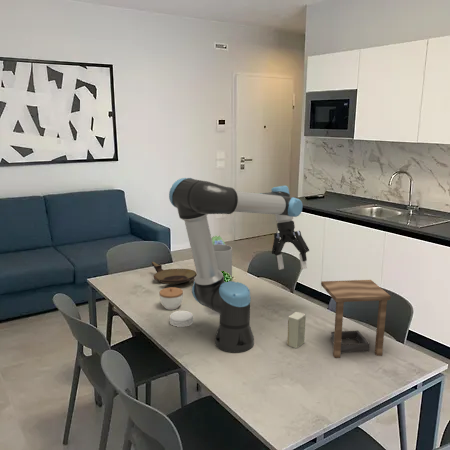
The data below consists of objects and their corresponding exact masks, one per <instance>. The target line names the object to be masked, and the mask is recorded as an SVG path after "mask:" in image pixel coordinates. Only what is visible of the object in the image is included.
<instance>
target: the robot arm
mask: <svg viewBox="0 0 450 450" xmlns="http://www.w3.org/2000/svg"><path fill="white" fill-rule="evenodd" d="M168 199H169V201H170V204H171V205H172V206H173V207H174V208H176V210H177V214H178V216H179V219H180V220H182V221H184V225H185V230H186V233H187V238H188V242H189V247H190V250H191V251H190V252H191V254H192V259H193V262H194V267H195V272H196V273H197V275H196V277H195V278H194V281H193V284H192V286H191V287H192V289H191V292H192V296H193V299H194V300H195V301H196V302H197V303H198V304H199V305H201V306H204V307H206V308H208V309H211V310H212V311H214V312H216V313H218V314H219V326H218V327H217V331H216V334H215V336H214V344H216V345H215V346H216V347H217V348H218V349H220V350H221V351H223V352H226V351H227V353H243V352H247V351H250V349H252V348H253V347H254V346H255V336H254V333H253V331H252V330H253V329H252V327H251V324H250V323H251V300H252V299H251V298H252V297H251V292H250V289H249V287H248V286H247V285H246V284H244V283H242V282H238V281H237V282H236V281H234V280H232V281H228V282H225V281H224V276H223V273H222V272H221V271H220V270H218V266H217V262H216V257H215V252H214V248H213V243H212V234H211V230H210V226H209V220H208V215H231V214H233V213H235V212H236V213H247V214H260V215H261V214H263V215H264V214H265V215H275V220H276V222H277V223H276V227H277V232H276V233H274V234H273V238H274V239H273V244H272V247H271V248H272V249H271V254H272V255H275V259H276V263H277V266H278V267H277V268H278V270H279V271H280V270H284V269H285V267H284V266H285V265H284V264H285V263H284V258H283V254H282V251H283V249H284V246H285V244H286V243H291V244H292V245H293V246H294V248H295V249H297V251H298V252H299V256H298V257H299V262H300V268H301V270H305V269H308V265H307V254H306V253H308V252H310V248H309V247H308V245H307V242H306V241H305V239H304V238H303V235H302V233H301V231H300V230H296V231H295V228H296V226H295V221H294V220H293V219H294V218H297V217H299V216H300V215H301V214H302V211H303V206H304V205H303V201H302V200H301V199H299V198H296V197H295V196H294V197H291V194H290V190H289V187H288V186H287V185H279V186H274V187H272V188H271V192H260V193H256V192H249V191H241V190H236V189H235V188H233V187H229V186H224V185H220V184H218V183H214V182H211V181H207V180H200V179H194V178H192V177H182V178H179V179H177V180H176V181H175V182H173V184H172V186H171V188H169V193H168Z"/></svg>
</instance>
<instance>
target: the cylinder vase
mask: <svg viewBox="0 0 450 450" xmlns="http://www.w3.org/2000/svg"><path fill="white" fill-rule="evenodd" d="M213 248H214V252H215V257H216V262H217V266H218V270H220V271H225V272H227V273H229V274H230V275H231V277H232V278H233V247H232V246H231V245H227V244H225V245H222V244H216V245H213Z"/></svg>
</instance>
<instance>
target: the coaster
mask: <svg viewBox="0 0 450 450" xmlns="http://www.w3.org/2000/svg"><path fill="white" fill-rule="evenodd" d="M193 323H194V314H193V313H192V312H191V311H187V310H176V311H173V312H171V313H170V315H169V324H170V325H171V326H172V325H173V326H172V327H175V326H177V327H176V328H185V327H184V326H186V327H189V326H191V325H192V324H193ZM188 325H189V326H188Z"/></svg>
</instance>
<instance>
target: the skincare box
mask: <svg viewBox="0 0 450 450" xmlns="http://www.w3.org/2000/svg"><path fill="white" fill-rule="evenodd" d="M306 317H307V316H306V314H305V313H303V312H300V311H295V312H293V313H291V314H289V315H288V318H287V340H286V342H287V343H286V345H287V346H289V347H291V348H293V349H298V348H299V347H301V346H302V345H303V344H304V343H305V339H306V338H305V337H306V321H307V320H306Z"/></svg>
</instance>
